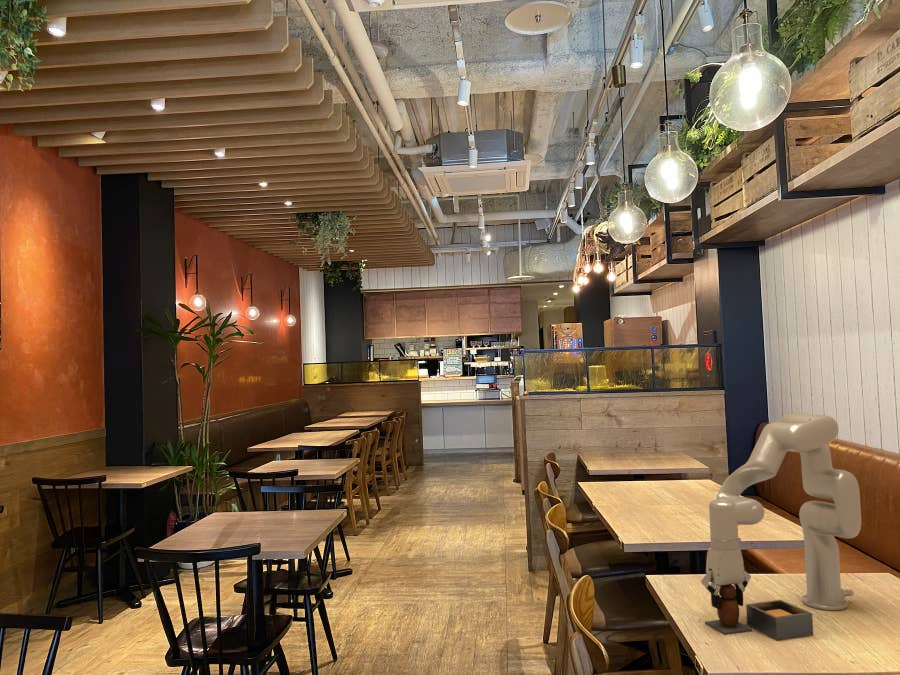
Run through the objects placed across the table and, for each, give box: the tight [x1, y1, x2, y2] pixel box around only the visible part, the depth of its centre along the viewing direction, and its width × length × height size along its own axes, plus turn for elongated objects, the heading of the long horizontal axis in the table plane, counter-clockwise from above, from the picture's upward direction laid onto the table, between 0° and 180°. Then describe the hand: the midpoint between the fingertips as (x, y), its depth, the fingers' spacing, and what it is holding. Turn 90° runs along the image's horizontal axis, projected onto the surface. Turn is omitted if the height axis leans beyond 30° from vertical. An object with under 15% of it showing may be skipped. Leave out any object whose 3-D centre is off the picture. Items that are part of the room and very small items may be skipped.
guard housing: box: [745, 599, 814, 642], centre depth 195 cm, size 12×12×6 cm
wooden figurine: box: [716, 584, 740, 626], centre depth 198 cm, size 7×6×15 cm
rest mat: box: [704, 619, 753, 636], centre depth 198 cm, size 9×9×1 cm
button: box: [765, 609, 792, 617], centre depth 195 cm, size 7×7×2 cm
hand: (727, 605), depth 198 cm, fingers open, 6 cm apart
